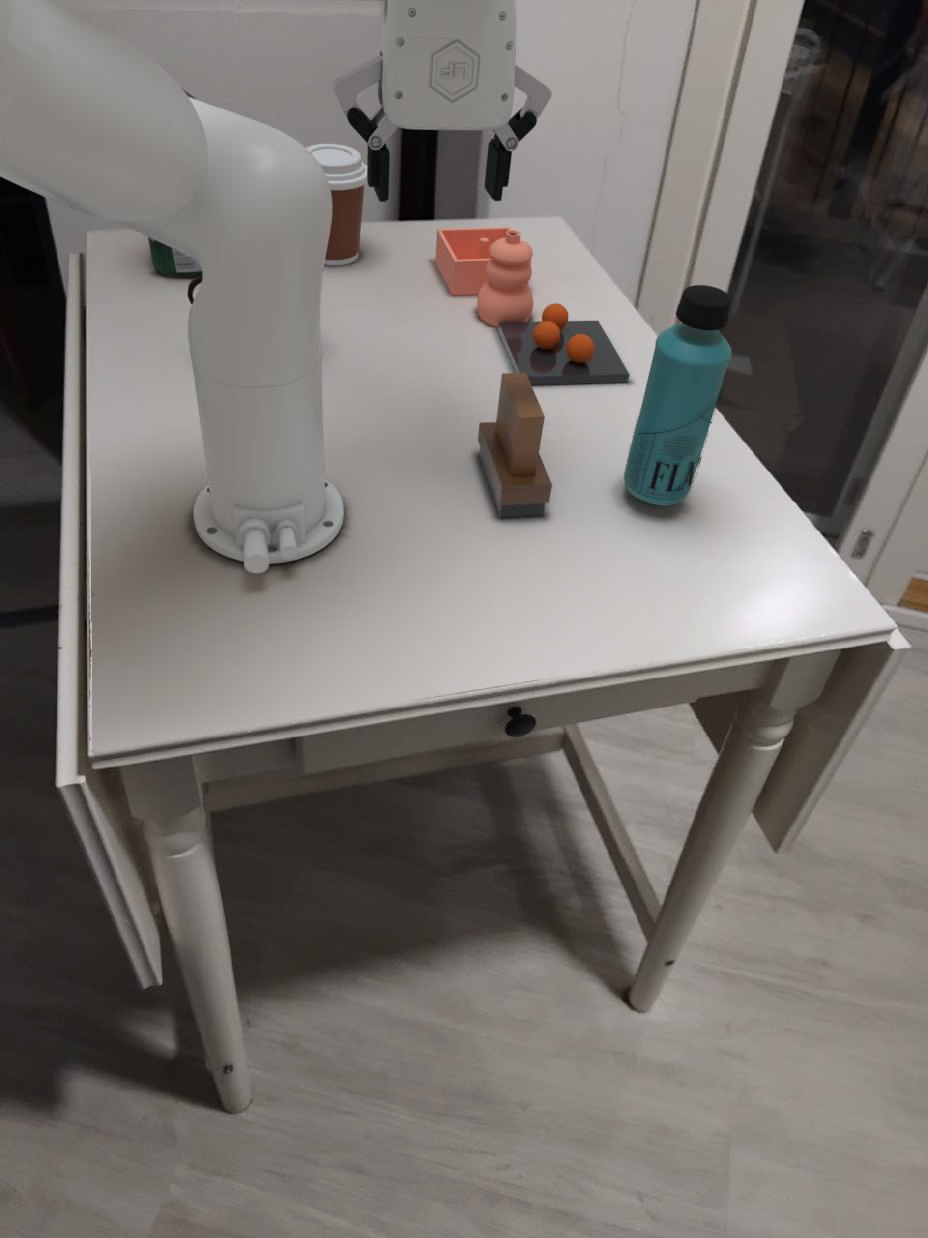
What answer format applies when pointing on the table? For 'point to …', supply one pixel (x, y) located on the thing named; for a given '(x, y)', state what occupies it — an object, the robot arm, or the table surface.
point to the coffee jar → (173, 255)
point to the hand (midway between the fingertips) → (437, 195)
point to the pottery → (488, 270)
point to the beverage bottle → (680, 398)
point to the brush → (515, 451)
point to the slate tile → (562, 355)
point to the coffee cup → (343, 199)
